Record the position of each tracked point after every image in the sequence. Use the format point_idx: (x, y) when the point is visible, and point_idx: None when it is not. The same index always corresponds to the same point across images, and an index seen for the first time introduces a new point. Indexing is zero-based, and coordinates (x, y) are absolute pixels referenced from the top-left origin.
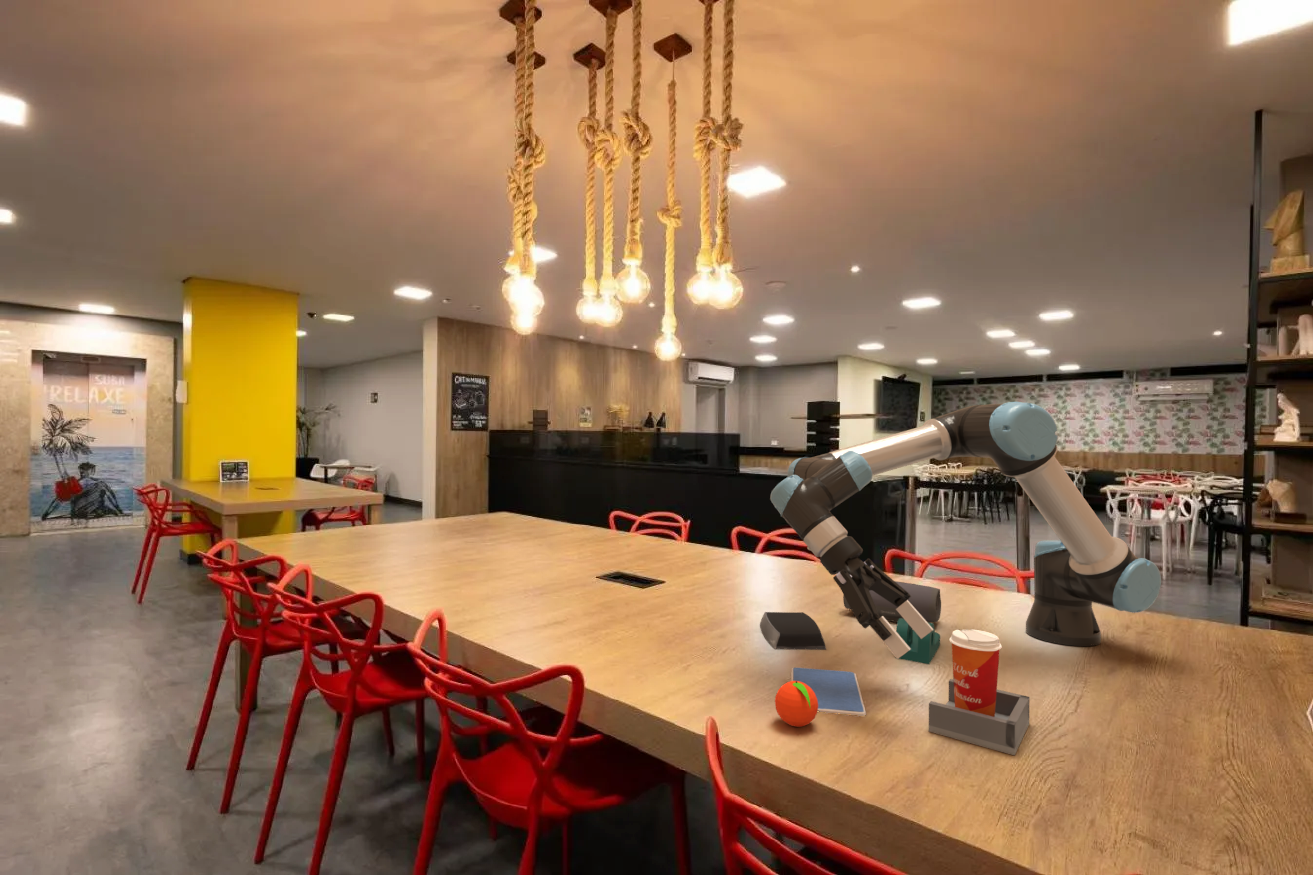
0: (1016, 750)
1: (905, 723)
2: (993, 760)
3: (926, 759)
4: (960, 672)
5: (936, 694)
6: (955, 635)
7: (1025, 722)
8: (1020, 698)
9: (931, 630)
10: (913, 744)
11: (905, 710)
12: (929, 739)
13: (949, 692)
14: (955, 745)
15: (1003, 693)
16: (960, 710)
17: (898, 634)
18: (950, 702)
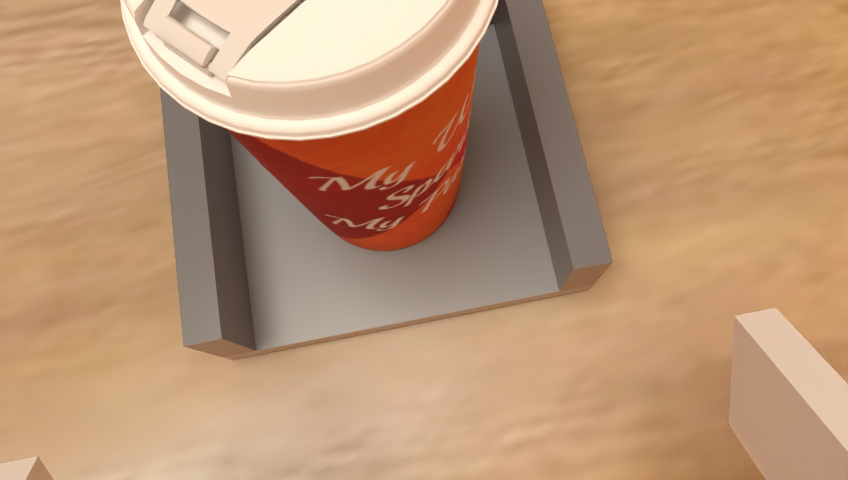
0: None
1: (598, 396)
2: (612, 35)
3: (821, 182)
4: (469, 101)
5: (159, 462)
6: (442, 7)
7: None
8: None
9: (39, 465)
10: (753, 273)
11: (464, 470)
12: (654, 253)
13: (242, 342)
14: (615, 165)
15: None
16: (565, 127)
17: (829, 429)
18: (268, 336)
